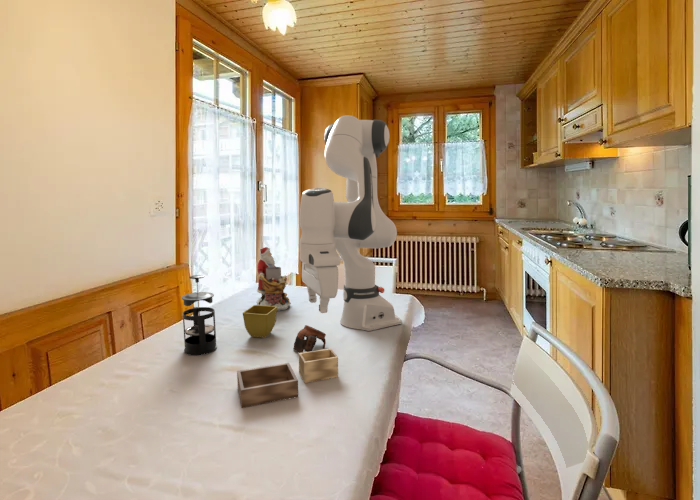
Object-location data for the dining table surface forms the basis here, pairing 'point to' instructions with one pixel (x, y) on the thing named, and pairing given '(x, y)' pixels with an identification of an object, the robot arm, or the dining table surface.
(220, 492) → the dining table surface
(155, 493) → the dining table surface
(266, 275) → the santa figurine
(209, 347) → the french press
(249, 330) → the flower pot
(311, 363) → the small crate
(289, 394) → the big crate
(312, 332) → the pottery mug
